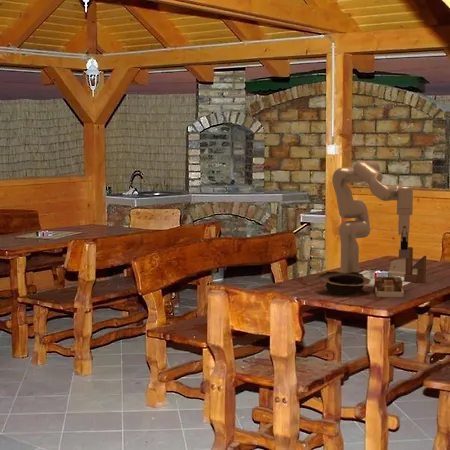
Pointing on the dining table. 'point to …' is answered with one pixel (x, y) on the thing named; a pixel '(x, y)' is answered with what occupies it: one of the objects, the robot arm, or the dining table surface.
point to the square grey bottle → (404, 251)
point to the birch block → (388, 288)
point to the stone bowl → (344, 282)
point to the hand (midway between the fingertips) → (403, 248)
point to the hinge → (400, 268)
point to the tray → (389, 293)
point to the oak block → (388, 283)
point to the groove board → (380, 280)
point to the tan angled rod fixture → (419, 266)
